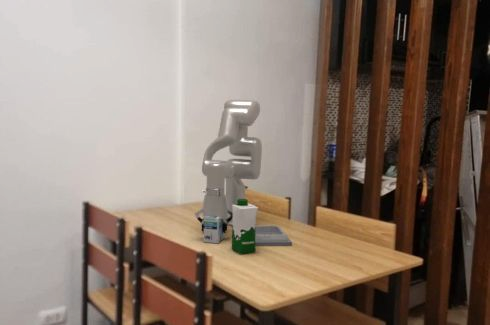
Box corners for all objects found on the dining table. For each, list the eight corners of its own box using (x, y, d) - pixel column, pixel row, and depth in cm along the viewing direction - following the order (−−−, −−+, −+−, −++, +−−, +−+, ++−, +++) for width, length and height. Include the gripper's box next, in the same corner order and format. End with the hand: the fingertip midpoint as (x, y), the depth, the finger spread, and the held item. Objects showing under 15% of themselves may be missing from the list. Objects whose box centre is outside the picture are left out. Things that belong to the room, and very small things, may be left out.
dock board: (240, 233, 195) (240, 230, 195) (281, 233, 198) (281, 229, 198) (246, 246, 176) (246, 242, 176) (291, 245, 179) (292, 242, 179)
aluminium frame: (245, 231, 193) (245, 225, 193) (278, 231, 196) (279, 225, 195) (250, 241, 178) (250, 235, 178) (286, 241, 180) (287, 235, 180)
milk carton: (247, 246, 177) (249, 197, 174) (258, 252, 169) (260, 202, 166) (228, 248, 173) (230, 199, 170) (238, 255, 165) (240, 203, 162)
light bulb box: (218, 244, 178) (219, 218, 177) (202, 242, 179) (203, 217, 178) (224, 236, 189) (225, 212, 187) (209, 235, 190) (210, 211, 189)
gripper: (194, 193, 177) (193, 235, 179) (237, 193, 179) (235, 235, 181) (194, 190, 184) (193, 230, 186) (234, 190, 187) (233, 230, 189)
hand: (214, 232), depth 184 cm, fingers closed on light bulb box, 8 cm apart
